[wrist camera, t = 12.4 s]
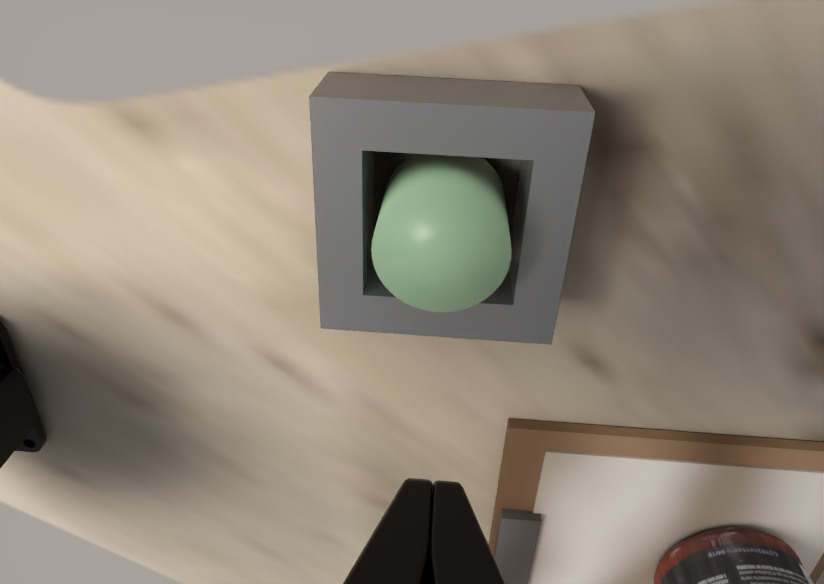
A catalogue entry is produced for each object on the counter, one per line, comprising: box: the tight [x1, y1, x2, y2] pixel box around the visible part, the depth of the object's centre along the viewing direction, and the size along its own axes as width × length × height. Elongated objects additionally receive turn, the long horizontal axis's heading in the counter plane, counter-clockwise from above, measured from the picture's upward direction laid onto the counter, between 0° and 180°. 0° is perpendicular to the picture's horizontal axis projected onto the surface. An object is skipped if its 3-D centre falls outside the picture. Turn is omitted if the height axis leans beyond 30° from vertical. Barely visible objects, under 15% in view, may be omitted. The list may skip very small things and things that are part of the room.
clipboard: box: [489, 419, 824, 584], centre depth 27 cm, size 14×14×1 cm
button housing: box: [309, 72, 595, 344], centre depth 18 cm, size 7×7×3 cm
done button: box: [371, 153, 512, 312], centre depth 18 cm, size 4×4×3 cm
